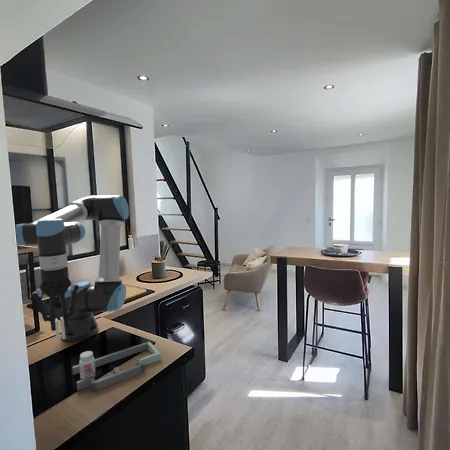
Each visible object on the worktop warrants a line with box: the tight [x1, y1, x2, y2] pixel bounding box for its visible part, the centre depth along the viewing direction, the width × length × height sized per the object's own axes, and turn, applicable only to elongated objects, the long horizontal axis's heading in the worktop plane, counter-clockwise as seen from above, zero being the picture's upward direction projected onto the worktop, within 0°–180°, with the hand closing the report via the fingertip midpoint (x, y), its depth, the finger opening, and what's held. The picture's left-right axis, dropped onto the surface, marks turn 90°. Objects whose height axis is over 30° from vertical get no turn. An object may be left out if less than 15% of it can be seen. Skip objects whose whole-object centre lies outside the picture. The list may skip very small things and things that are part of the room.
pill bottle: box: [78, 350, 96, 380], centre depth 97 cm, size 5×5×8 cm
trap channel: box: [72, 341, 161, 392], centre depth 102 cm, size 15×28×2 cm, turn 125°
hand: (60, 338), depth 92 cm, fingers closed
